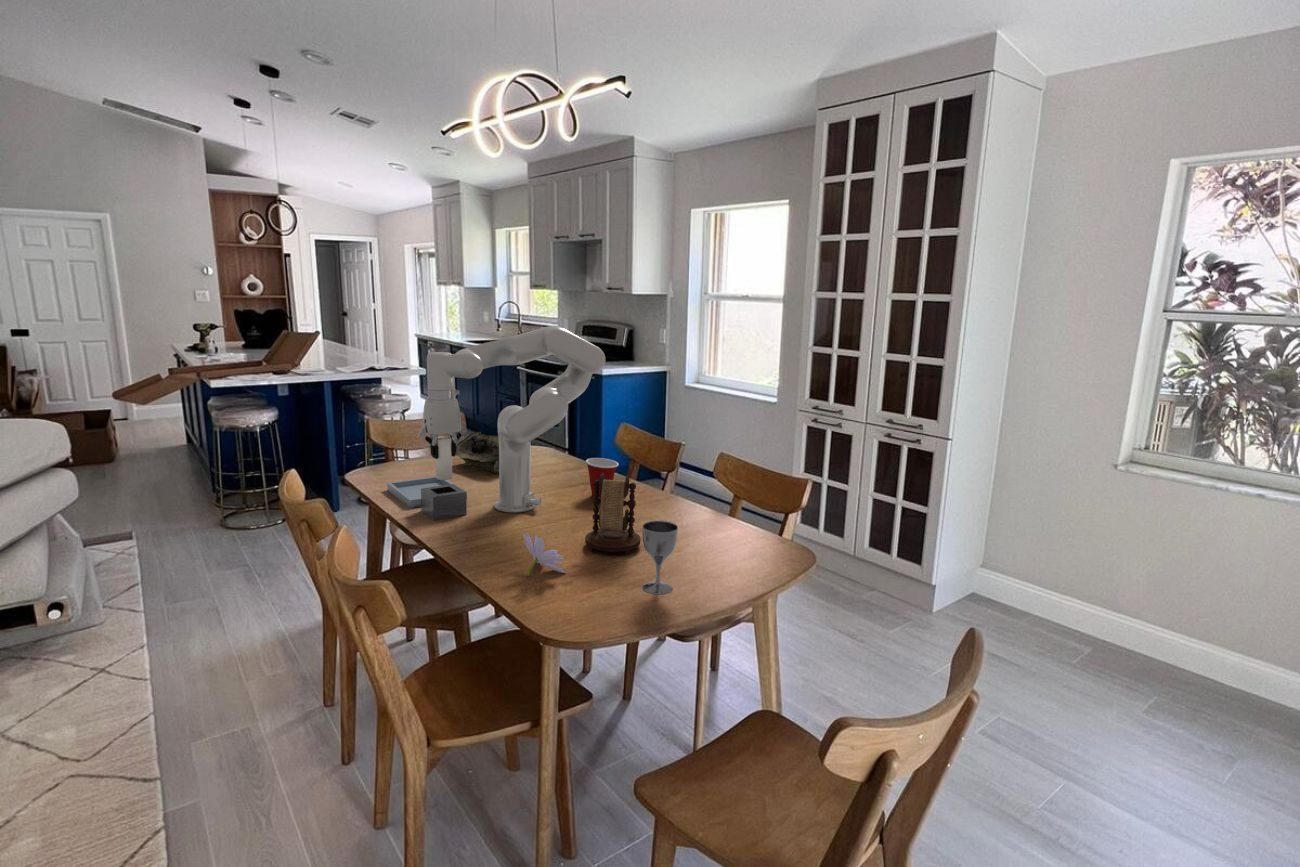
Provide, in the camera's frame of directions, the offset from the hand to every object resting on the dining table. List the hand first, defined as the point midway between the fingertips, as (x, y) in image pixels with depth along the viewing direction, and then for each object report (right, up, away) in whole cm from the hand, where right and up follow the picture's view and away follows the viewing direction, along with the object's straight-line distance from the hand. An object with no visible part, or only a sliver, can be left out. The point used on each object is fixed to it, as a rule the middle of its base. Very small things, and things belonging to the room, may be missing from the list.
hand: (443, 456), depth 202 cm
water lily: (+35, -27, -36) cm, 57 cm away
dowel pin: (0, -7, +1) cm, 7 cm away
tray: (-12, -13, +20) cm, 27 cm away
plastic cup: (+44, -14, +26) cm, 54 cm away
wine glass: (+62, -29, -42) cm, 81 cm away
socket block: (-1, -17, +3) cm, 17 cm away
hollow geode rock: (-1, -7, +53) cm, 54 cm away
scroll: (+51, -24, -18) cm, 59 cm away
